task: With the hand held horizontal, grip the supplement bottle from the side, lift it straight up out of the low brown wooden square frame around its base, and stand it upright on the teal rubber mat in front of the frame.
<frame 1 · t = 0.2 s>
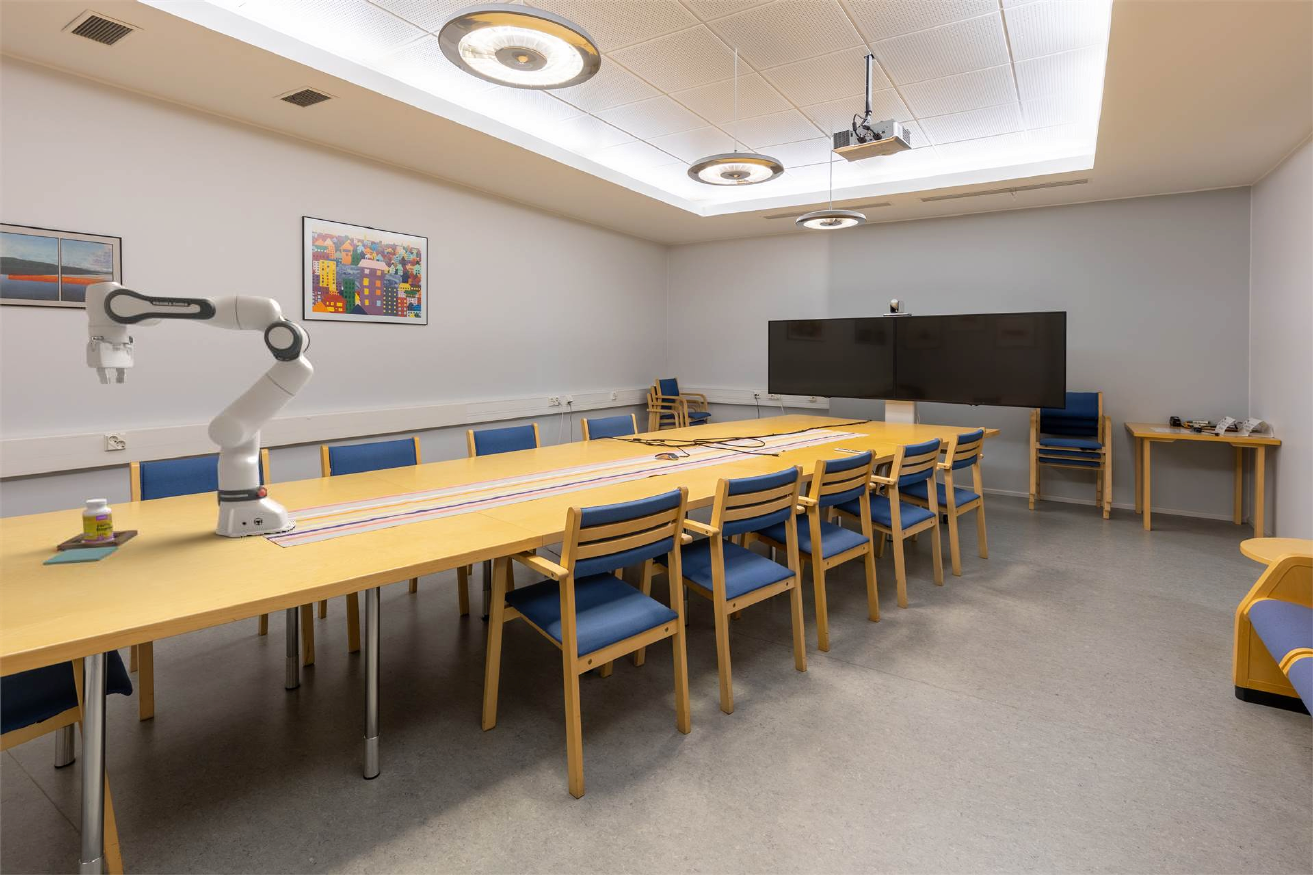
hand: (113, 383, 191), 48 cm above the table, tool pointing down, fingers open, 8 cm apart
supplement bottle: (99, 542, 191), resting in brown wooden square frame
brown wooden square frame: (99, 542, 191), on the table
teal mat: (82, 556, 178), on the table
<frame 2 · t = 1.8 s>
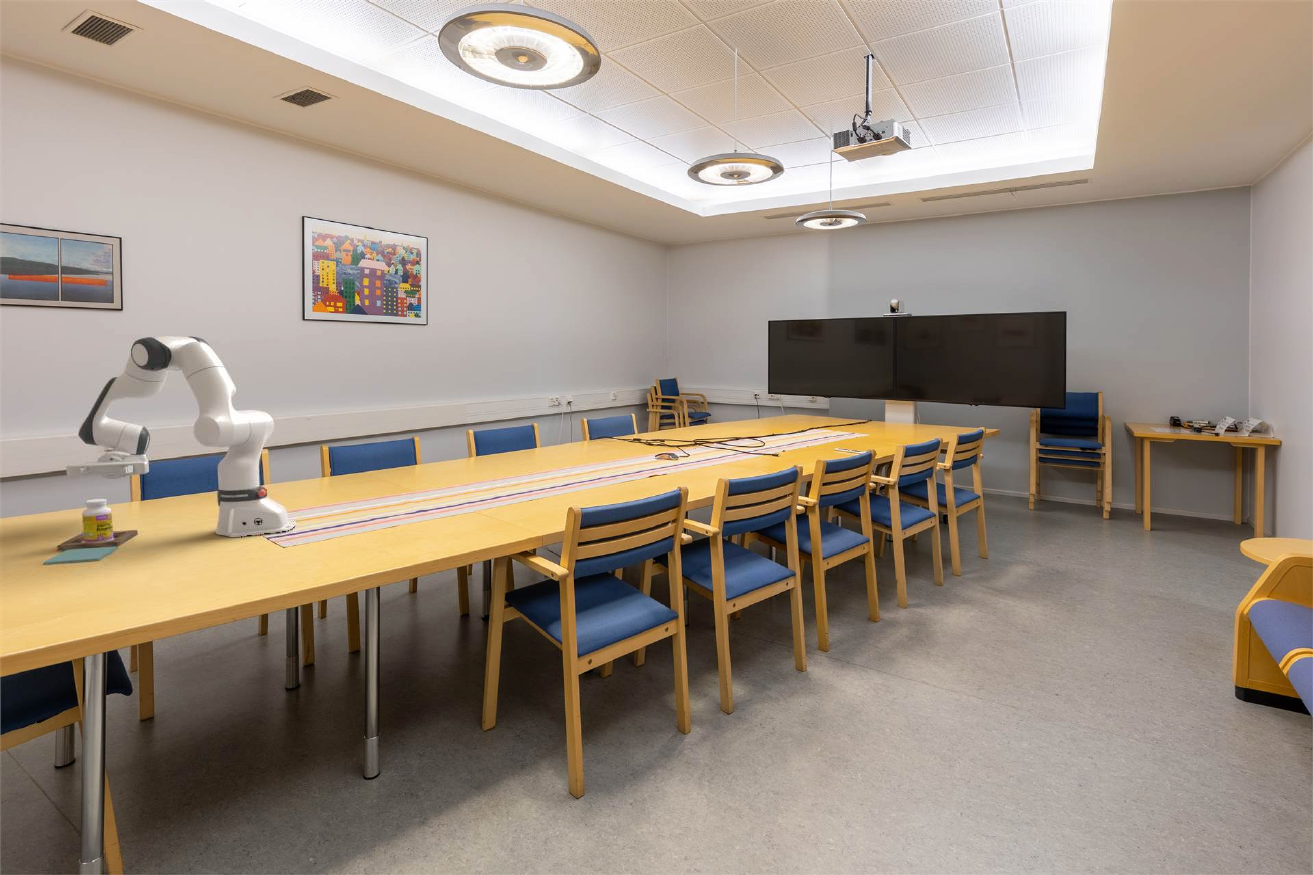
hand: (103, 471, 199), 20 cm above the table, tool horizontal, fingers open, 8 cm apart
nothing on the table moved.
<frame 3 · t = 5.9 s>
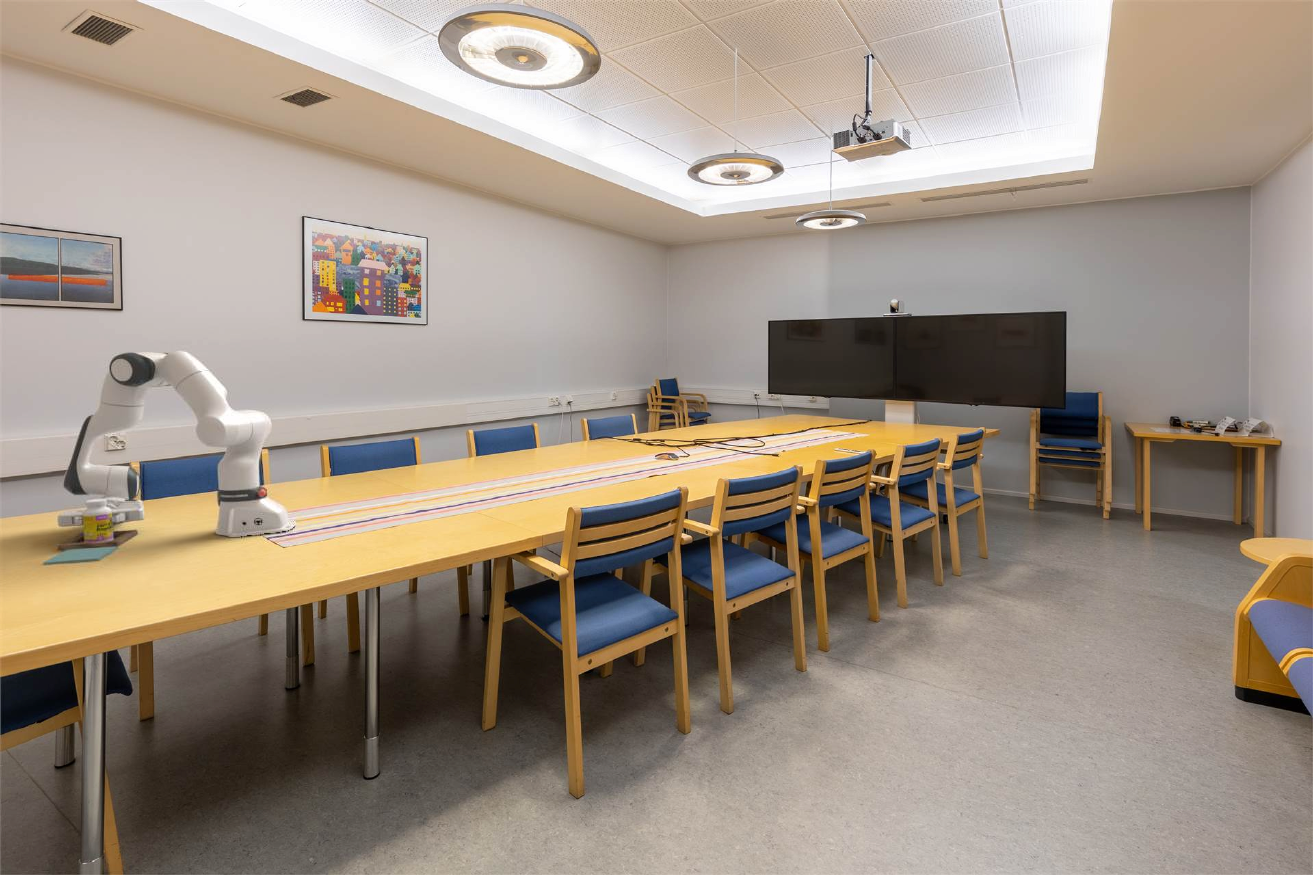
hand: (96, 521, 189), 7 cm above the table, tool horizontal, fingers closed on supplement bottle, 7 cm apart
supplement bottle: (99, 542, 191), resting in brown wooden square frame, touching gripper
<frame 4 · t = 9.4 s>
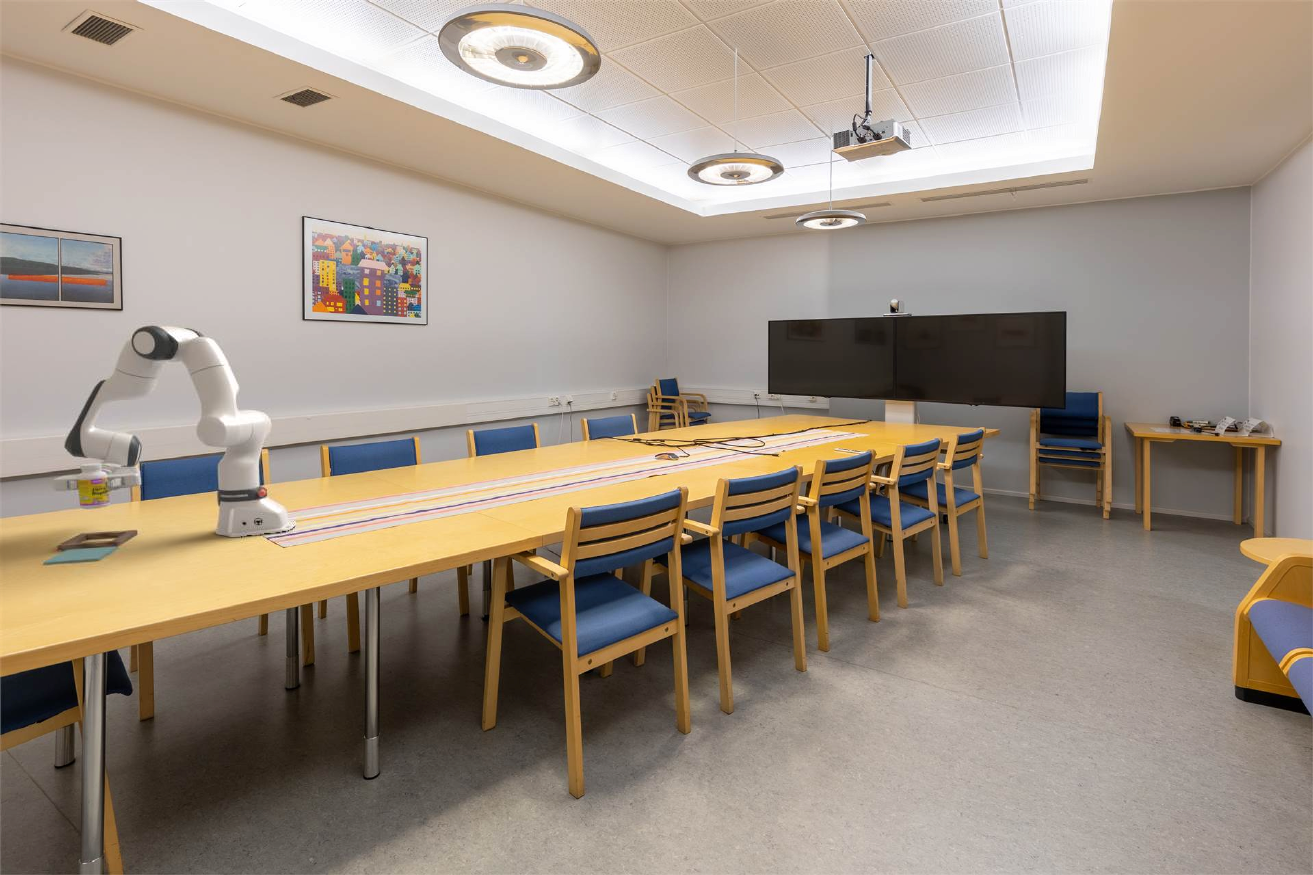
hand: (92, 485, 187), 18 cm above the table, tool horizontal, fingers closed on supplement bottle, 7 cm apart
supplement bottle: (95, 507, 188), point 11 cm above the table, touching gripper
when the fingers open (9 cm above the table, at t = 12.9 s): supplement bottle drops 1 cm, resting on teal mat.
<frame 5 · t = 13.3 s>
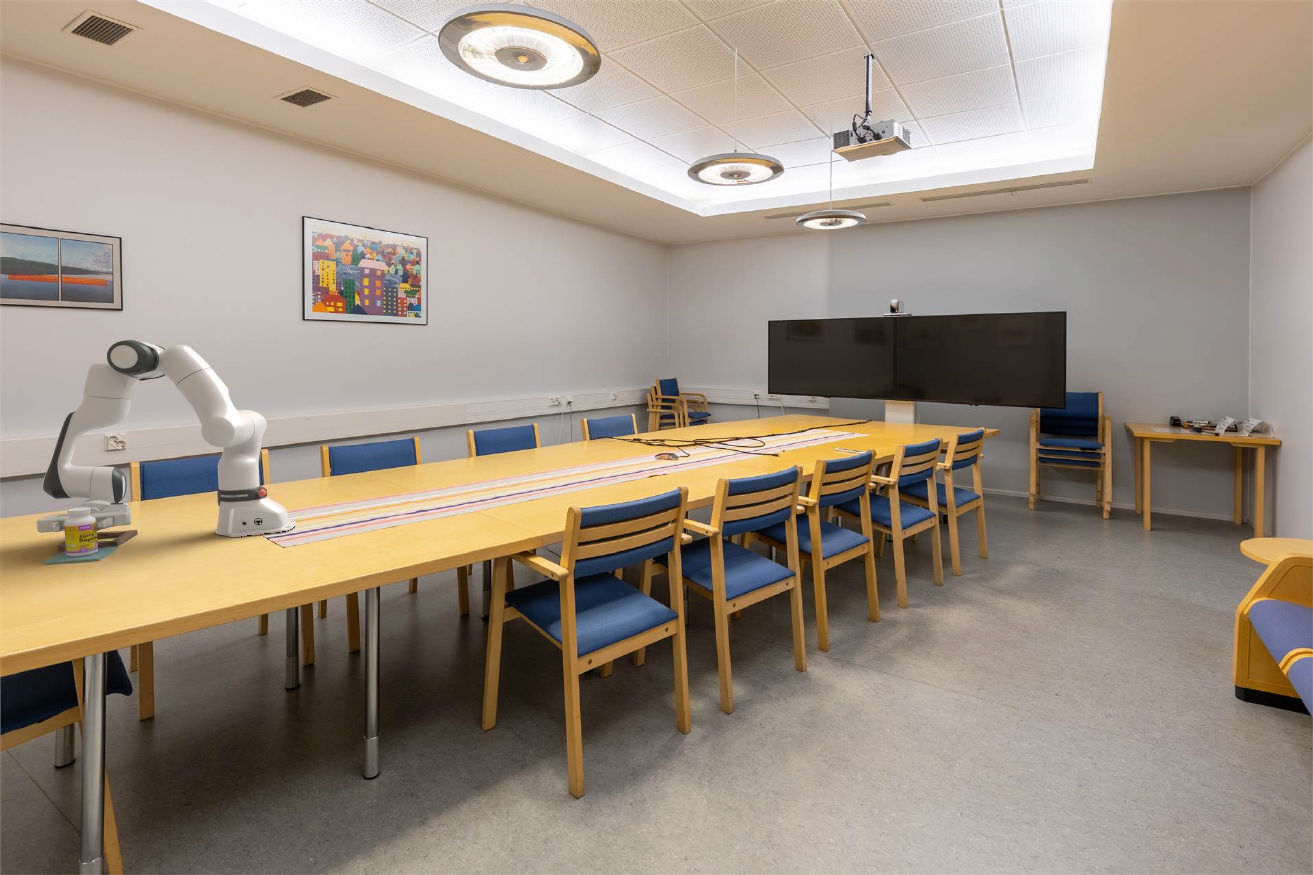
hand: (79, 526, 176), 9 cm above the table, tool horizontal, fingers open, 8 cm apart
supplement bottle: (82, 554, 178), resting on teal mat
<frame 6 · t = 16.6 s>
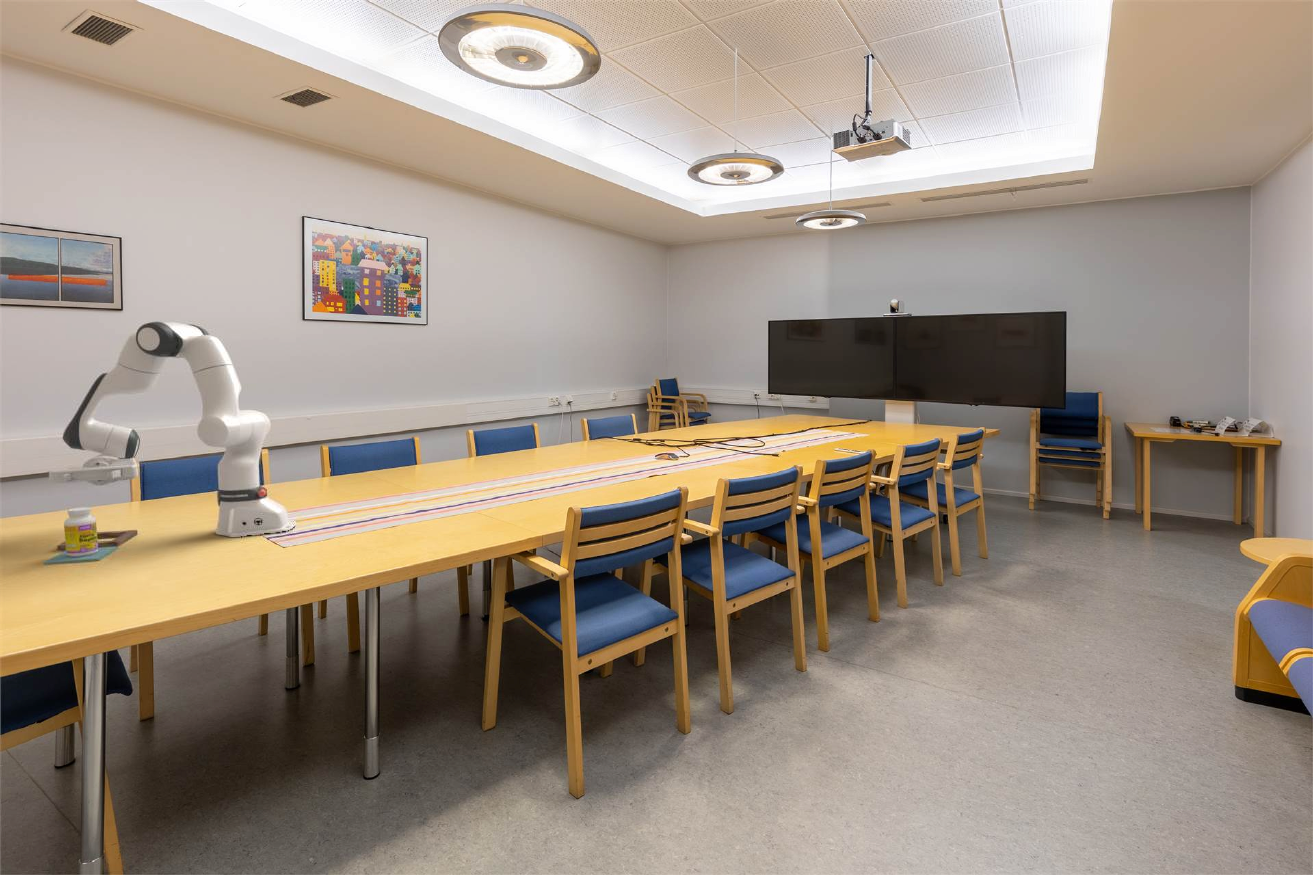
hand: (89, 477, 186), 20 cm above the table, tool horizontal, fingers open, 8 cm apart
nothing on the table moved.
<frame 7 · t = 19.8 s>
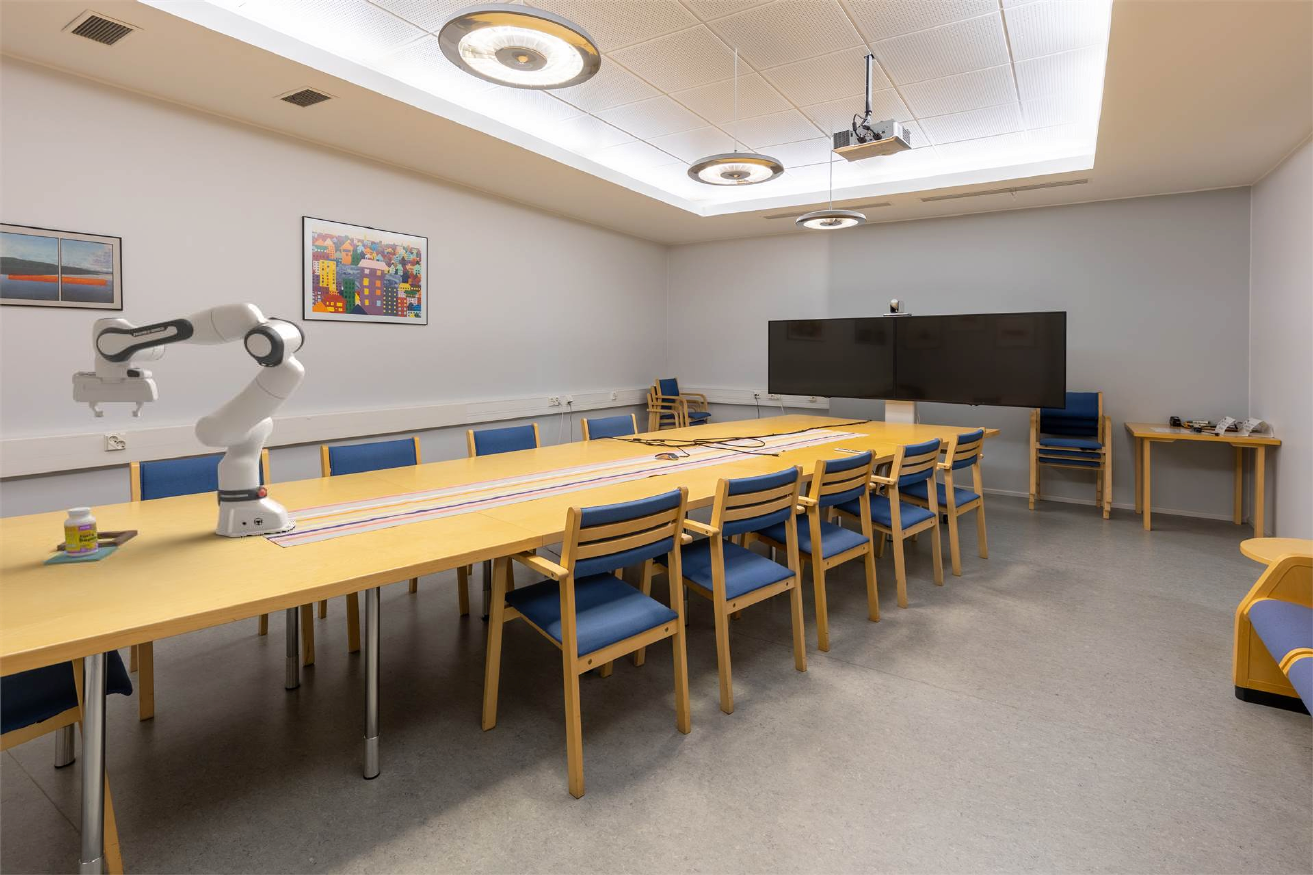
hand: (117, 417, 195), 37 cm above the table, tool pointing down, fingers open, 8 cm apart
nothing on the table moved.
at the end: supplement bottle inside the target area on the teal mat (0.1 cm from its centre), point 0.4 cm above the teal mat's base; supplement bottle tilted 0°; the gripper is holding nothing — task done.
